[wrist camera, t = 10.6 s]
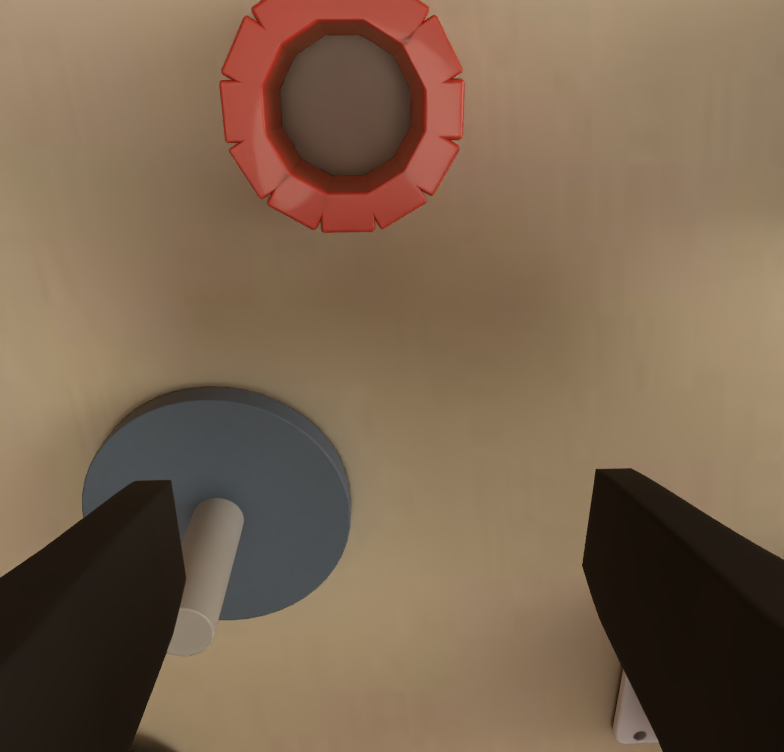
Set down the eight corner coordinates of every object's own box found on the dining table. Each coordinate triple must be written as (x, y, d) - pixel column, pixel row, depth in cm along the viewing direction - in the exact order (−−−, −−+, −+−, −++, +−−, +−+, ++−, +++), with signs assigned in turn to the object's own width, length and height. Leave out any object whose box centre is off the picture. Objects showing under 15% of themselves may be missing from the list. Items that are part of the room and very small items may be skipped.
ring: (447, -6, 16) (468, -31, 13) (442, 207, 18) (460, 230, 15) (235, -6, 16) (207, -31, 13) (255, 210, 18) (234, 234, 15)
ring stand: (346, 382, 20) (343, 484, 15) (354, 595, 24) (354, 741, 18) (69, 390, 20) (-36, 497, 15) (117, 605, 23) (46, 757, 18)
